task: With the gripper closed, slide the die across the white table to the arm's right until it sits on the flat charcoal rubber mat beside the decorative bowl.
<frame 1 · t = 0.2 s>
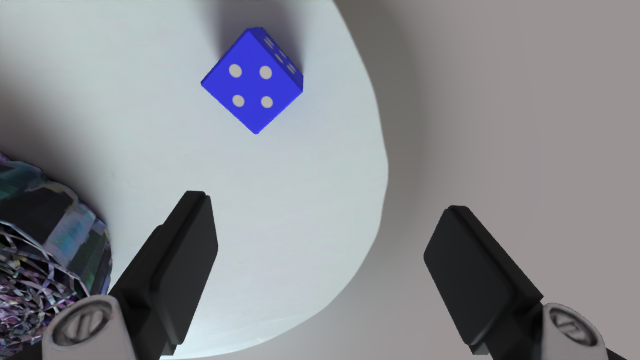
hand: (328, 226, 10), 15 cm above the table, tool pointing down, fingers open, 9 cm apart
die: (263, 73, 21), on the table
decorative bowl: (19, 225, 29), on the table
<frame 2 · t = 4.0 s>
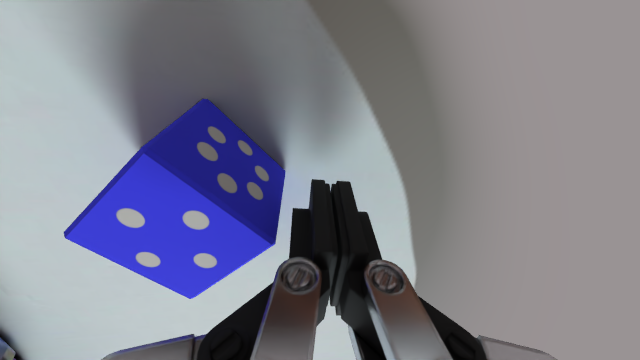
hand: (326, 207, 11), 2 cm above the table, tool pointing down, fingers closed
die: (217, 165, 13), on the table, touching gripper
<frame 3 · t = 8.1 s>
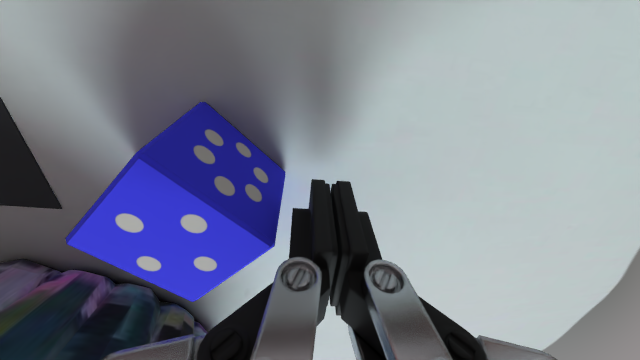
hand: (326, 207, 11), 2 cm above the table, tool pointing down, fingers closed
die: (218, 167, 13), on the table, touching gripper
decorative bowl: (100, 339, 22), on the table
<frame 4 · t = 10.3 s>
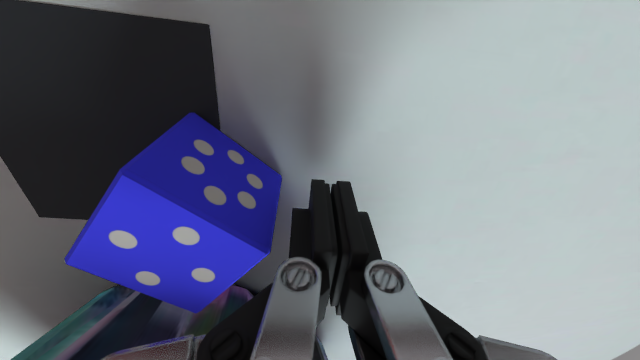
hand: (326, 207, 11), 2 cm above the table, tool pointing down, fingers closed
die: (214, 176, 13), on the table, touching gripper
decorative bowl: (209, 347, 22), on the table
pad: (107, 139, 11), on the table
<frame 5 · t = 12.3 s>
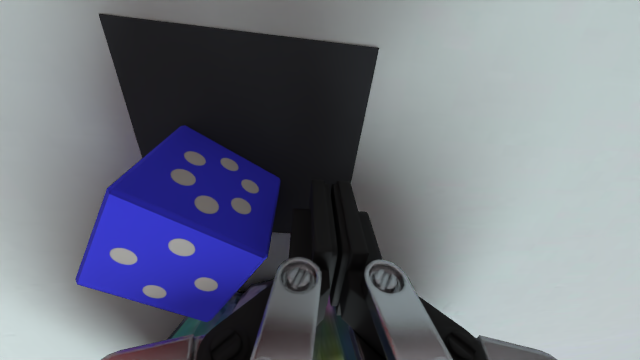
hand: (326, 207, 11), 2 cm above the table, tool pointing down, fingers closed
die: (215, 186, 13), on the table, touching gripper, pad
decorative bowl: (282, 350, 23), on the table
pad: (251, 154, 12), on the table
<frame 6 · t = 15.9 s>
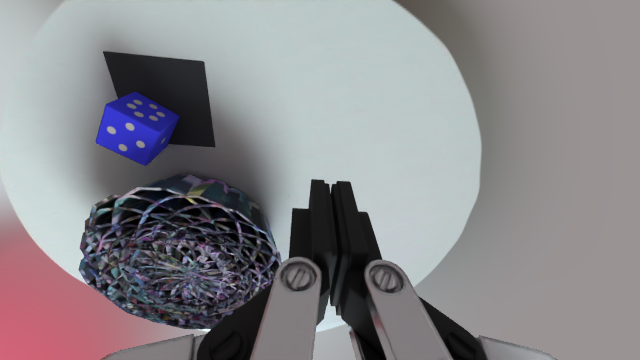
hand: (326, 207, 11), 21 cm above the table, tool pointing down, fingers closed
die: (152, 120, 30), on the table, touching pad
decorative bowl: (207, 231, 40), on the table
pad: (165, 104, 29), on the table
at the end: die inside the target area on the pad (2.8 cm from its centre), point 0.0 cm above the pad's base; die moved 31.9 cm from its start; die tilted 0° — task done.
